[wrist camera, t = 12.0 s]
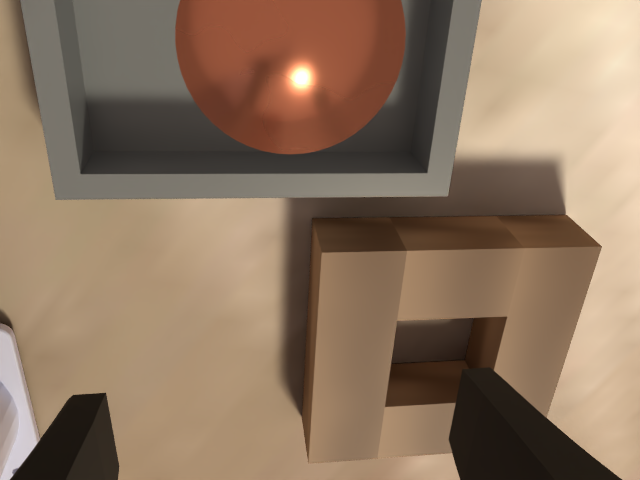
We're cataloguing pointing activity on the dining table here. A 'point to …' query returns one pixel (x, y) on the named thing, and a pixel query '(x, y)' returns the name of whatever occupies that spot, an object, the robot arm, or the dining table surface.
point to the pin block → (432, 303)
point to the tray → (207, 139)
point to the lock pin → (290, 67)
